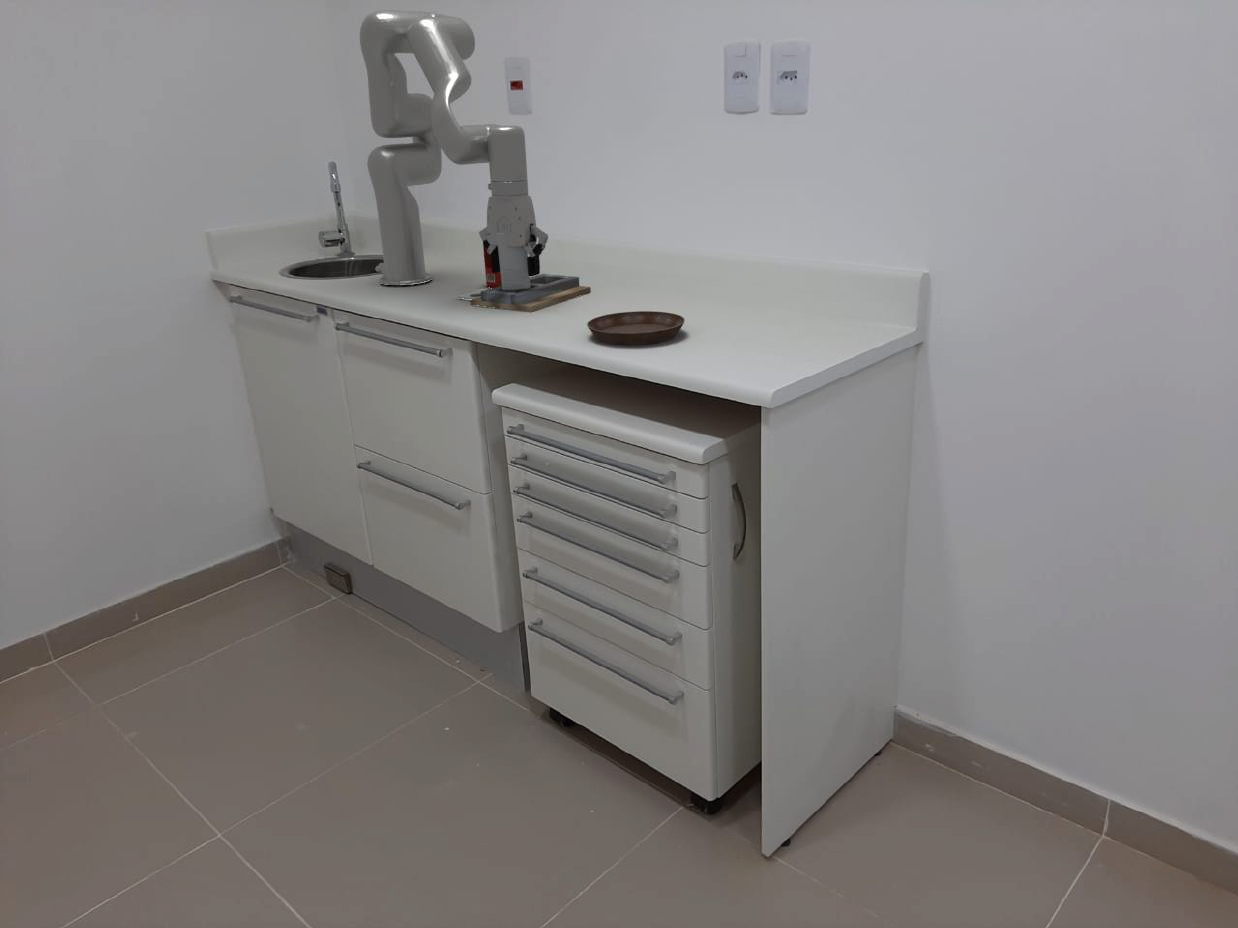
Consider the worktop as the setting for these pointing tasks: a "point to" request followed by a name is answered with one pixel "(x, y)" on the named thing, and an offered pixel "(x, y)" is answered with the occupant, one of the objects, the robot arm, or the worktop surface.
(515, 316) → the worktop surface
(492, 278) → the canned food
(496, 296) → the holder
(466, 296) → the card
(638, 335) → the plant saucer
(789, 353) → the worktop surface
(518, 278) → the skincare box
